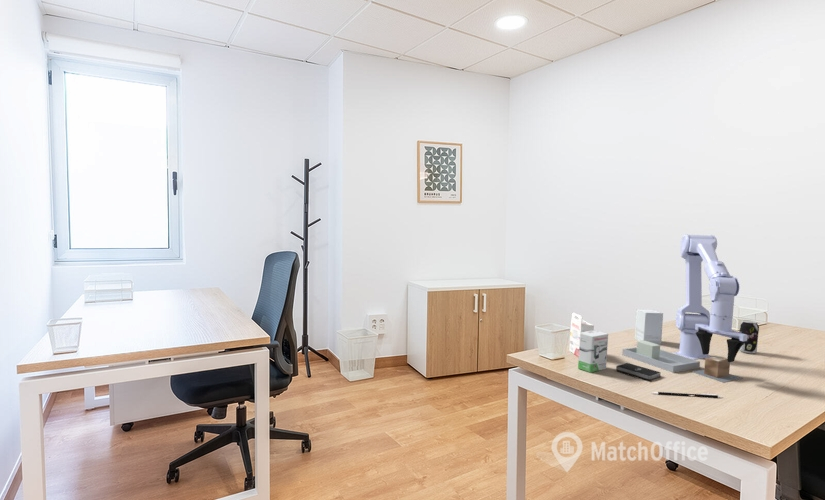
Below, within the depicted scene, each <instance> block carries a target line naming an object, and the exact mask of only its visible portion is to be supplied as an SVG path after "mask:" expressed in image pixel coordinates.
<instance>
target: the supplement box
mask: <svg viewBox="0 0 825 500" xmlns="http://www.w3.org/2000/svg"><path fill="white" fill-rule="evenodd" d="M635 313H636V314H635V326H634V339H635V340H636V341H637V342H638V341H648V342H651V343H655V344H658V345H662V338H663V337H662V335H663V322H664V313H663V312H661V311H658V310H655V309H641V308H640V309H636V312H635Z"/></svg>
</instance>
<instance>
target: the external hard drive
mask: <svg viewBox="0 0 825 500" xmlns="http://www.w3.org/2000/svg"><path fill="white" fill-rule="evenodd" d="M615 367H616V368H615V371H616V372H618V373H621V374H624V375H627V376H630V377H634V378H635V379H639V380H643V381H646V382H652V381H653V380H656V379H657V378H661V372H660V371H658V370H654V369H651V368H648V367H645V366H640V365H637V364H633V363H629V362H624V363H622V364H618V365H616V366H615Z"/></svg>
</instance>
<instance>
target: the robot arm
mask: <svg viewBox="0 0 825 500" xmlns="http://www.w3.org/2000/svg"><path fill="white" fill-rule="evenodd" d="M717 246H718V241H717V237H716V236H715V235H713V234H711V235H704V234H703V235H702V234H701V235H700V234H687V233H686V234H684V235H683V236H682V237H681V240H680V257H681V258H682V259H683V260H685V261H684V262H685V304H683V305H682V306H681V307H679V308H678V309H677V311H676V316H675V325H676V328H677V329H678V330H679V331H680V334H679V336H680V337H679V349H678V351H674V352H673V354H677V355H680V356H683V357H686V358H690V359H693V360H696V361H697V360H701V359H705V358H710V357H712V356H711V355H709V354H710V349H711V348H710V347H711V341H712V338H713V334H714V335H717V336H721V337H726V338H727V339H726V344H727V345H726V346H727V356H726V357H727V358H726V359H727V360H728V362H730V363H733V362H735V360H736V359H735V358H737V357H736V356H737V355H738V352H739V351H740V350H739V349H740V348H741V347H742V345H743V344H744V343H745V341H747V335H746V334H743V333H739V332H738V331H737V330H733V329H732V327H733V317H734V306H735V297H736V296H738V294H739V291H740V282H739V280H738V278H737V276H736V277H735V276H733V275H731V274H730V273H729V270H728V269H727V266H726V264H725V263H724V262H723V261H720V260H719V257H718V256H717V252H716V251H717V250H716V249H717ZM702 263H704V264H705V266H704V272H705V274H706V275H707V278H708V281H709V284H708V285H709V287H708V289H709V299H710V300H711V303H710V305H711V306H710V310H708V309H707V308H706V307H704V306H703V301H702V299H703V298H702V293H703V291H702Z"/></svg>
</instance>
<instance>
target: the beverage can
mask: <svg viewBox="0 0 825 500" xmlns="http://www.w3.org/2000/svg"><path fill="white" fill-rule="evenodd" d="M759 332H760V326H759V324H758V321H756V320H755V321H754V320H751V319H750V320H749V319H742V320H741V323H740V324H739V333H743V334H746V335H747V341H745V343H744V344H743V345H742V347H741V348H740V349H739V351H740V352H741V353H744V354H749V355H753V354H756V353H757V352H758V342H759Z"/></svg>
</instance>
